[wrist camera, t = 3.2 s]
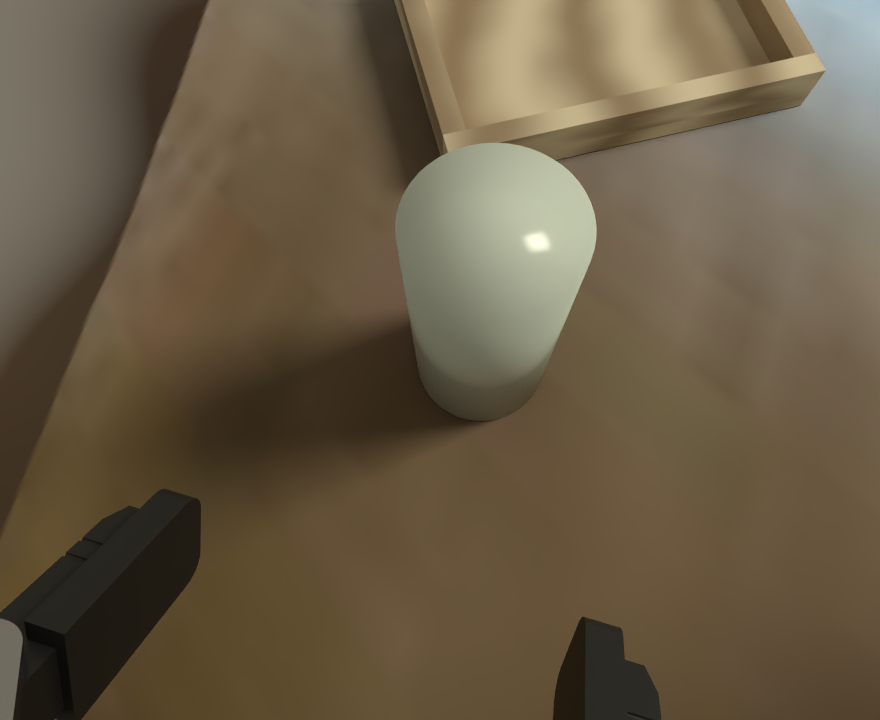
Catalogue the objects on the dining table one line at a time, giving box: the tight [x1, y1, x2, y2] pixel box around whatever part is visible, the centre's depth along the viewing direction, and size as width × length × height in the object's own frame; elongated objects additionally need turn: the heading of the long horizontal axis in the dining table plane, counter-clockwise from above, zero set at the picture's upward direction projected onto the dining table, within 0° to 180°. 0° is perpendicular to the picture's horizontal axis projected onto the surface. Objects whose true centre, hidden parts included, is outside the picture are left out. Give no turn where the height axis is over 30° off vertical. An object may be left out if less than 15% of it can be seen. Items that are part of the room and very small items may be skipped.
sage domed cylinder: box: [395, 143, 596, 421], centre depth 24 cm, size 6×6×12 cm
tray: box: [394, 0, 826, 160], centre depth 35 cm, size 20×14×2 cm
